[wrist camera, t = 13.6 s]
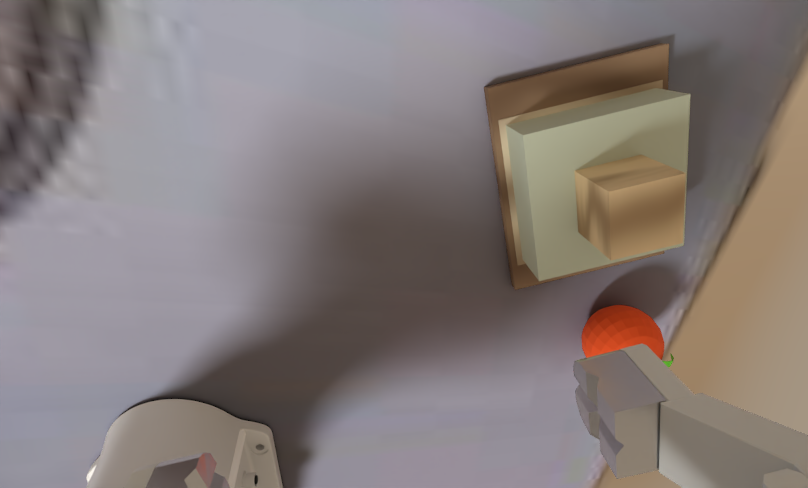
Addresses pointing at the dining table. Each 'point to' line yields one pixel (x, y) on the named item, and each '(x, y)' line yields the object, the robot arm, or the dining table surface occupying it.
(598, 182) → the oak cube
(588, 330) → the clementine
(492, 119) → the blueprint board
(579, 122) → the plinth block
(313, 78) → the dining table surface
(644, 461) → the robot arm
